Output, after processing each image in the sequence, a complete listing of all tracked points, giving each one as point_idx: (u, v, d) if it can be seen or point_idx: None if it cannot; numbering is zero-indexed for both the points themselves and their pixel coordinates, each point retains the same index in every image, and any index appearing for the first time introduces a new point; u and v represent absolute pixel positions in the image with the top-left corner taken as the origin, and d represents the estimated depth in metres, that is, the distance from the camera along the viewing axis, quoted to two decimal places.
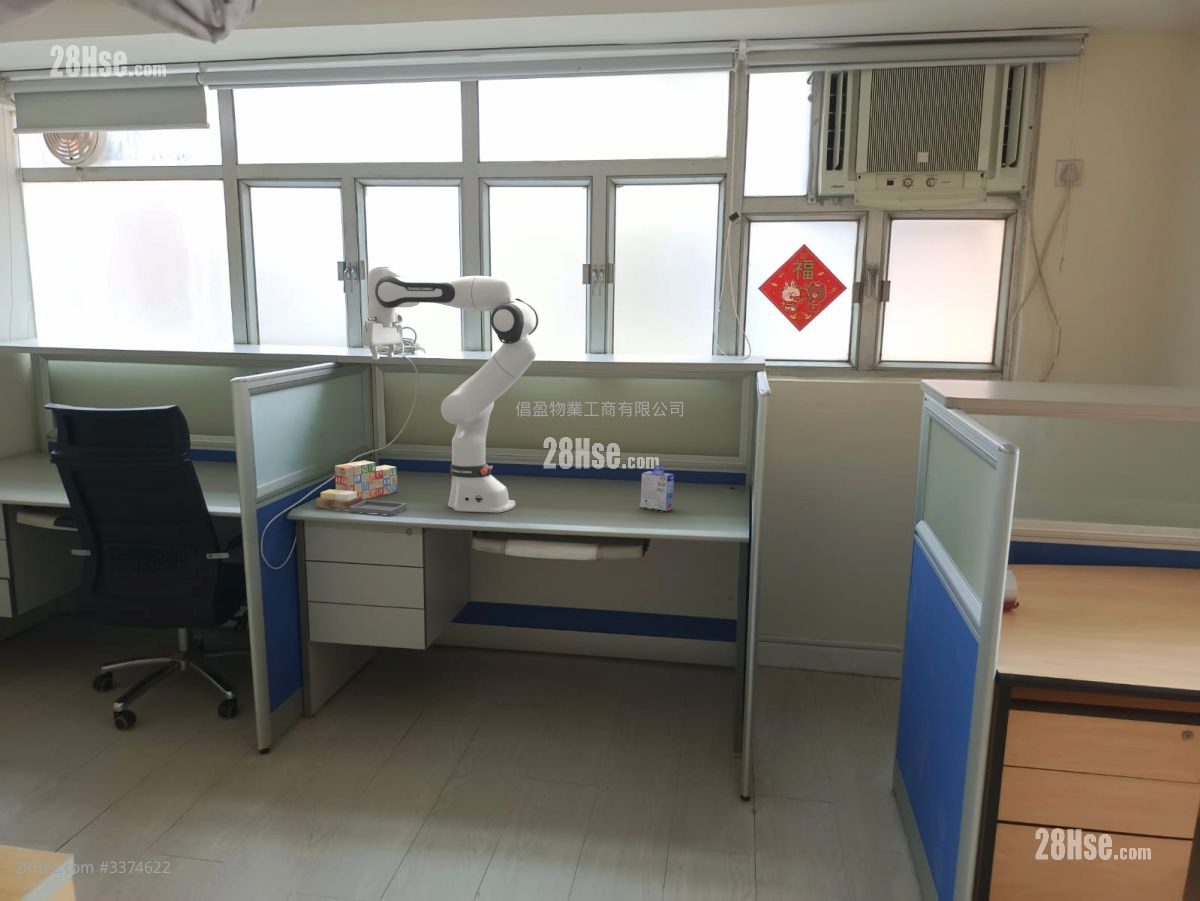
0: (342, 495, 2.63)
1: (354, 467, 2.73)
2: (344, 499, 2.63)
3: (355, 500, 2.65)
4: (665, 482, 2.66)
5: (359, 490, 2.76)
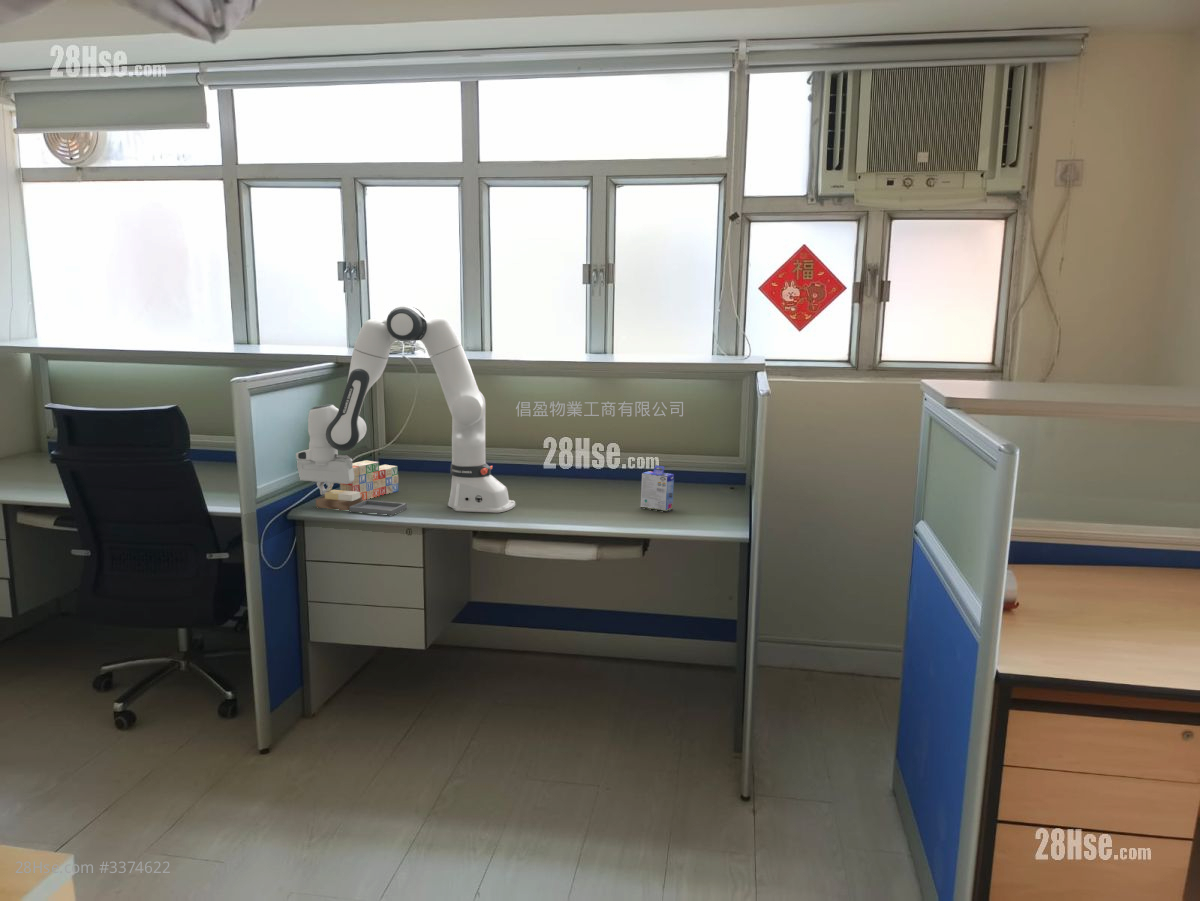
0: (346, 495, 2.63)
1: (359, 467, 2.73)
2: (348, 499, 2.63)
3: (355, 500, 2.65)
4: (665, 482, 2.66)
5: (364, 490, 2.76)
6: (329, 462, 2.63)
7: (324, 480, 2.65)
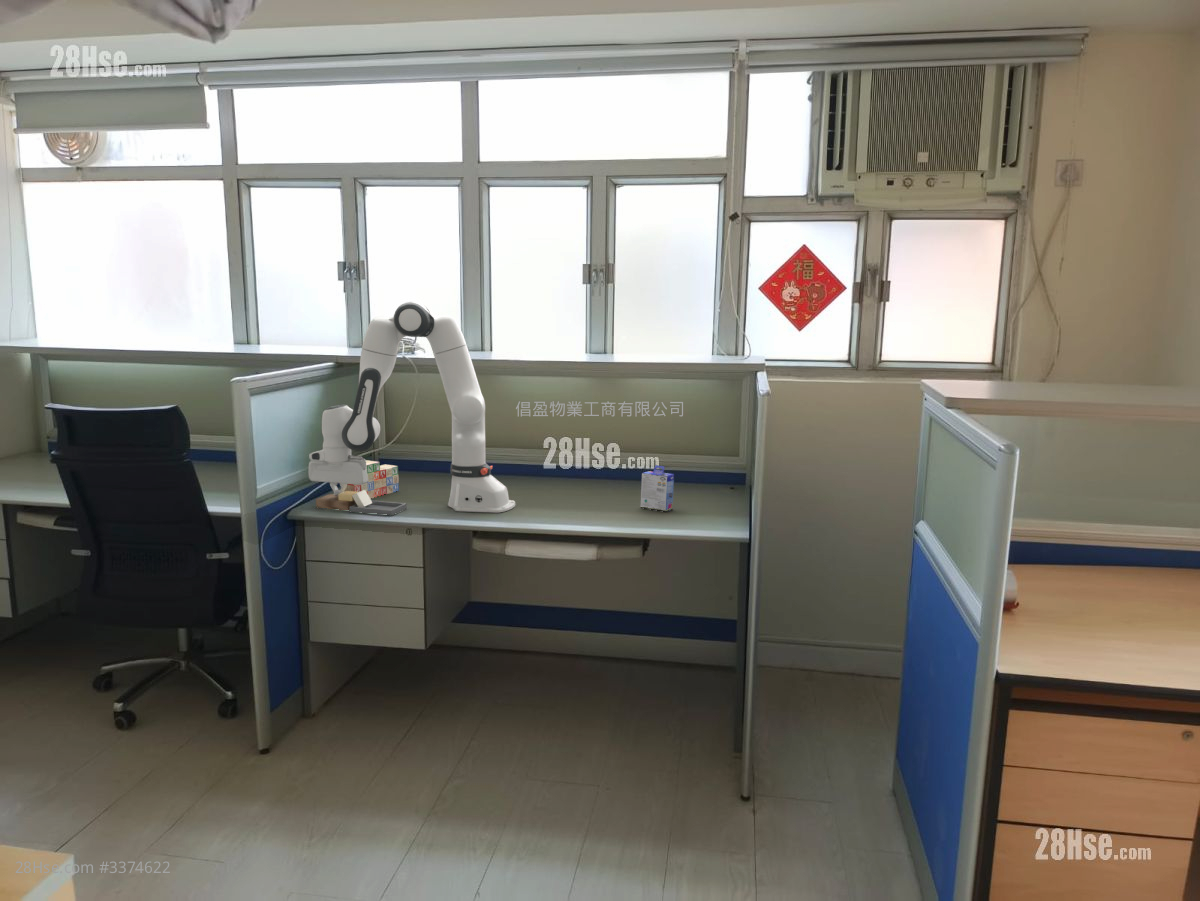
0: (360, 501, 2.61)
1: None
2: (358, 505, 2.62)
3: None
4: (665, 482, 2.66)
5: (366, 490, 2.76)
6: (343, 463, 2.62)
7: (338, 481, 2.63)
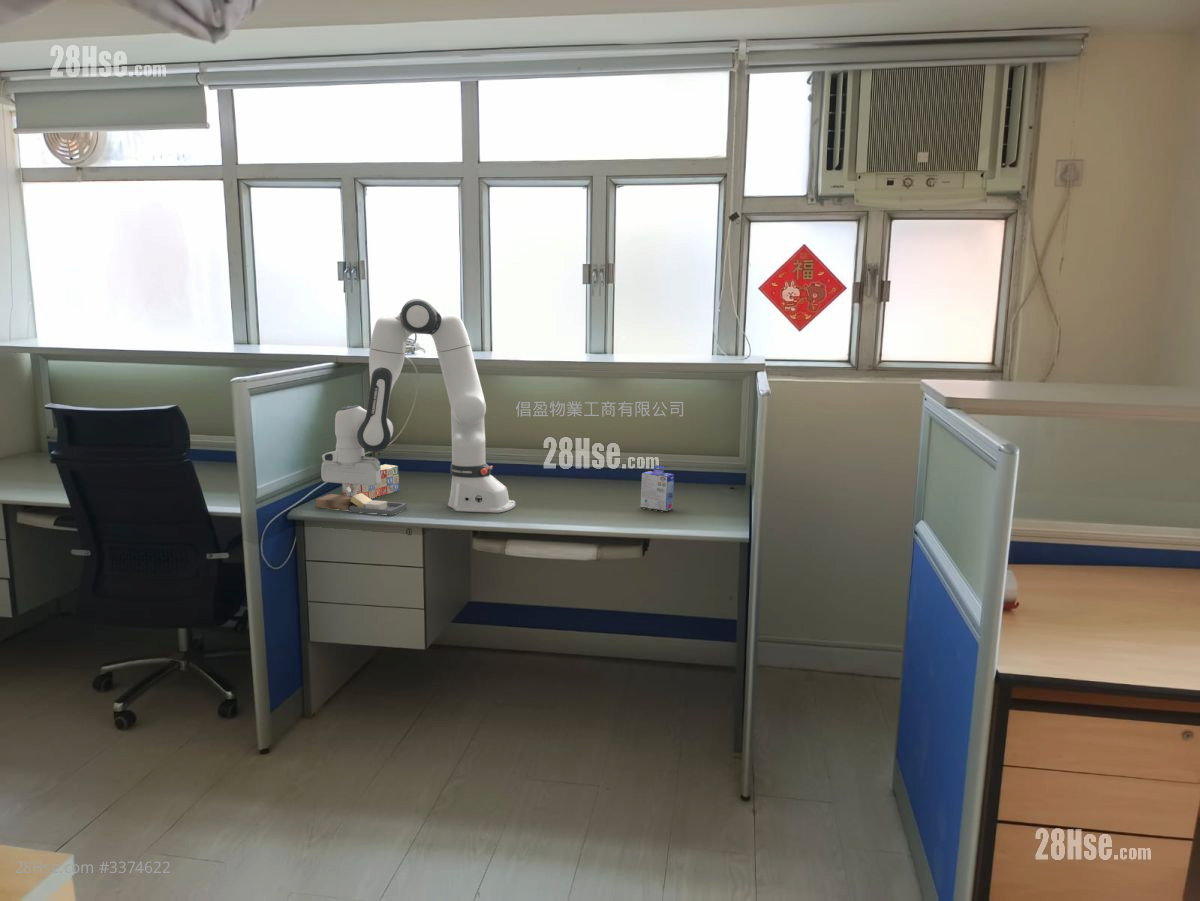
0: None
1: None
2: (368, 505, 2.61)
3: None
4: (665, 482, 2.66)
5: (366, 490, 2.76)
6: (356, 464, 2.60)
7: (351, 482, 2.62)
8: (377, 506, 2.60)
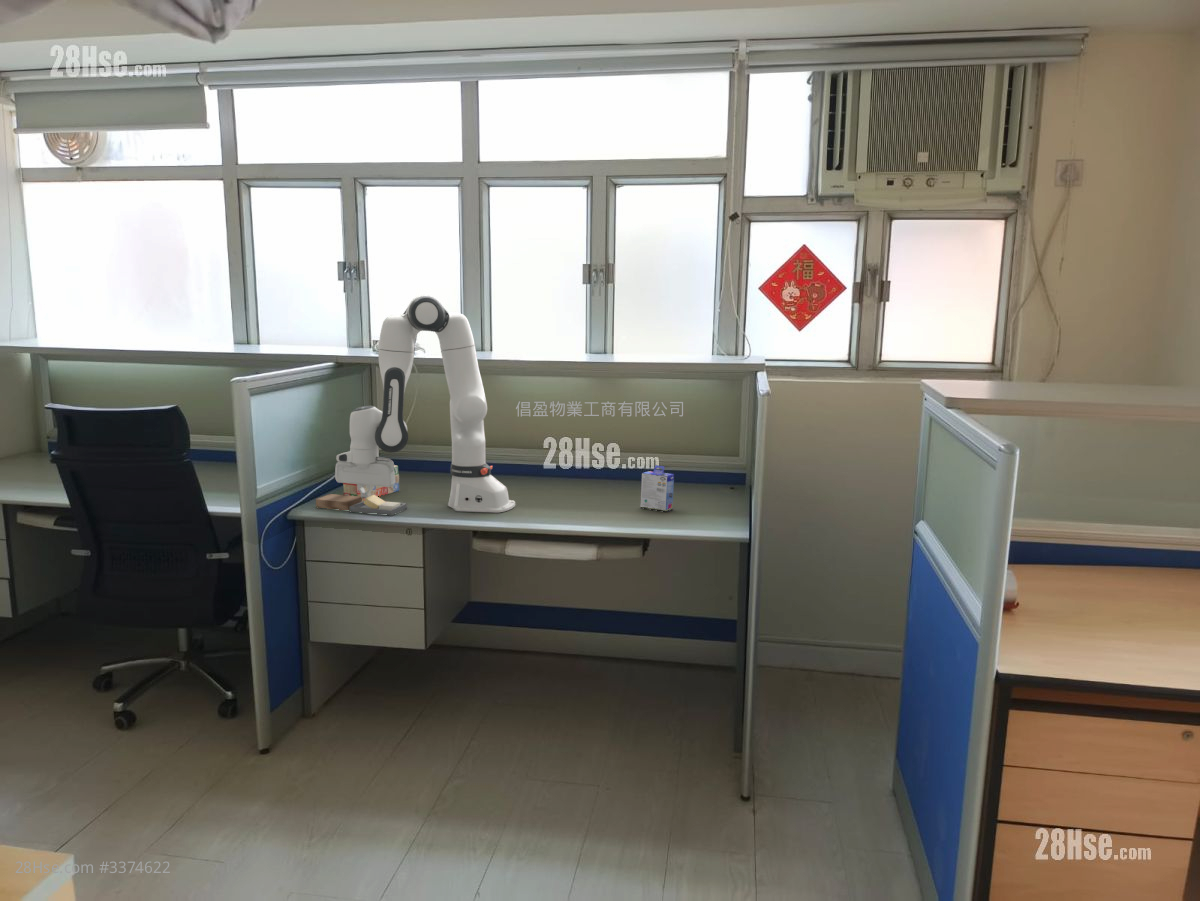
0: None
1: None
2: (382, 506, 2.59)
3: (355, 500, 2.65)
4: (665, 482, 2.66)
5: None
6: (370, 465, 2.59)
7: (365, 483, 2.61)
8: (391, 507, 2.59)
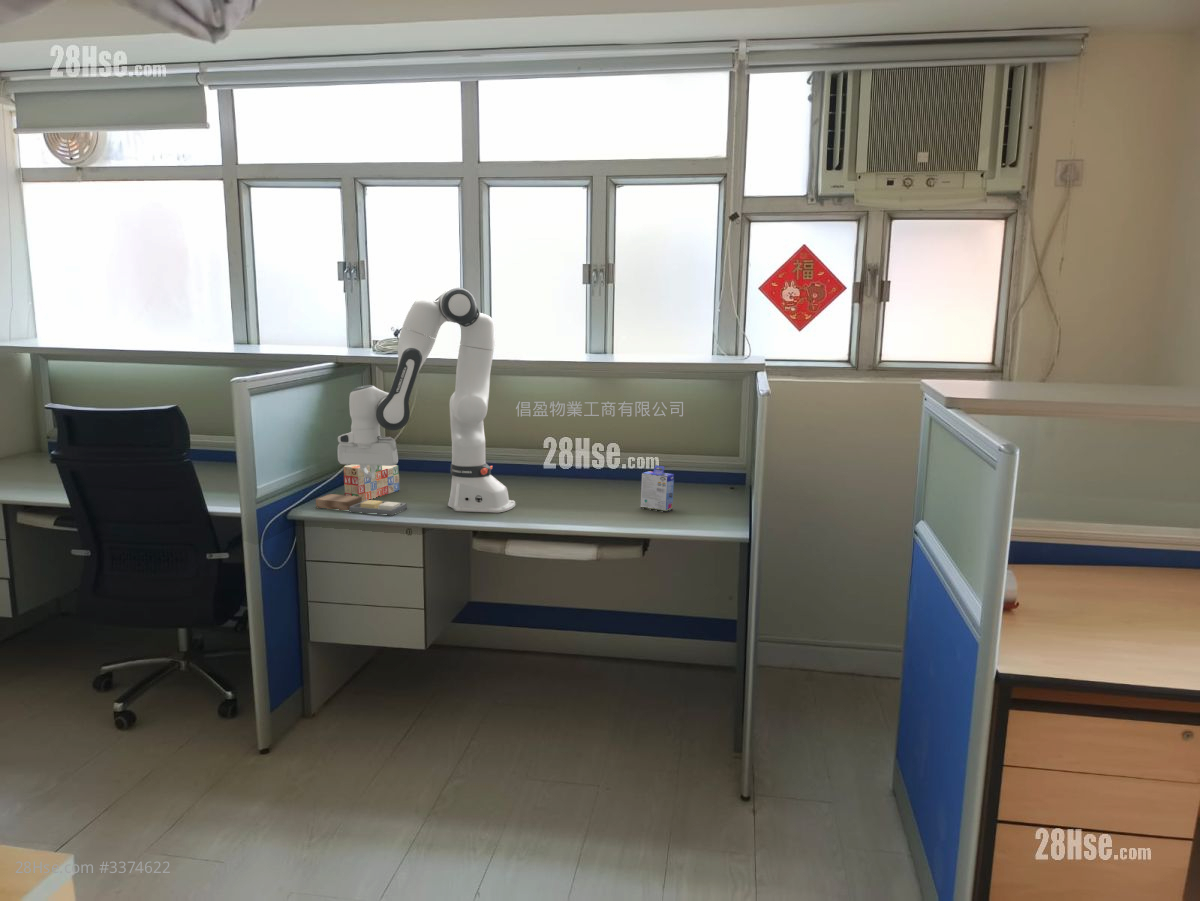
0: None
1: None
2: (382, 506, 2.59)
3: (355, 500, 2.65)
4: (665, 482, 2.66)
5: (369, 489, 2.77)
6: (372, 444, 2.58)
7: (368, 463, 2.60)
8: (390, 507, 2.59)
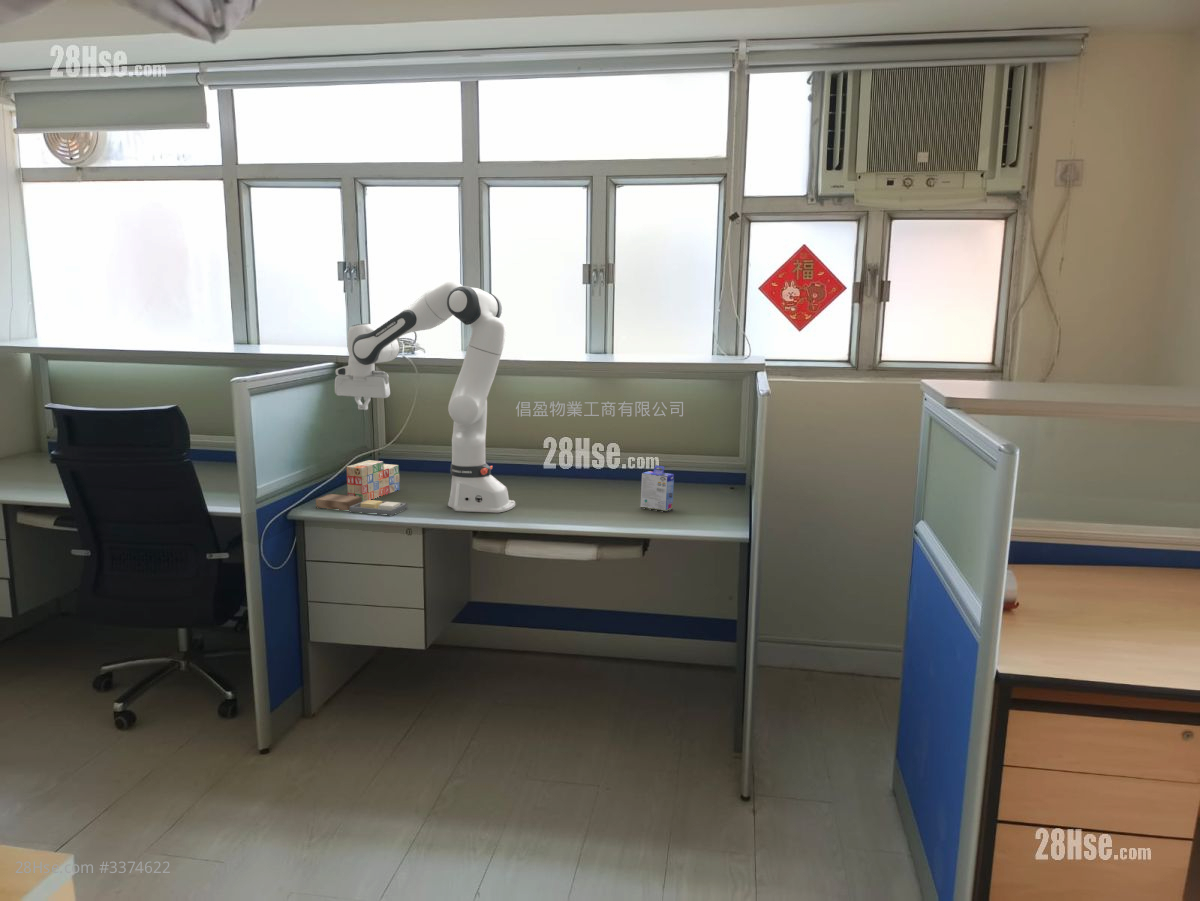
0: None
1: (367, 467, 2.74)
2: (382, 506, 2.59)
3: (355, 500, 2.65)
4: (665, 482, 2.66)
5: (372, 489, 2.77)
6: (367, 377, 2.82)
7: (362, 395, 2.83)
8: (390, 507, 2.59)
